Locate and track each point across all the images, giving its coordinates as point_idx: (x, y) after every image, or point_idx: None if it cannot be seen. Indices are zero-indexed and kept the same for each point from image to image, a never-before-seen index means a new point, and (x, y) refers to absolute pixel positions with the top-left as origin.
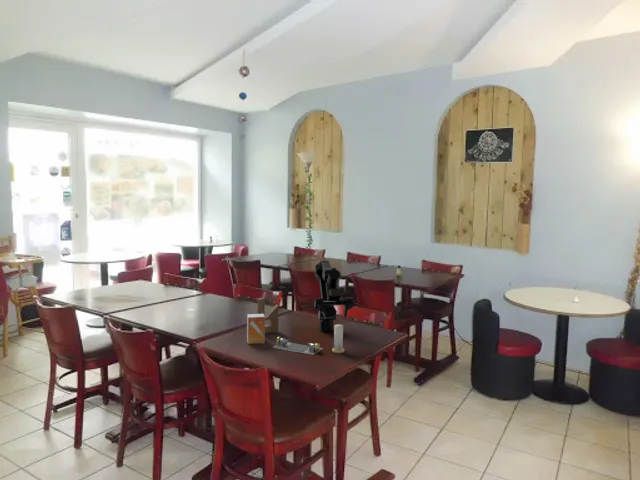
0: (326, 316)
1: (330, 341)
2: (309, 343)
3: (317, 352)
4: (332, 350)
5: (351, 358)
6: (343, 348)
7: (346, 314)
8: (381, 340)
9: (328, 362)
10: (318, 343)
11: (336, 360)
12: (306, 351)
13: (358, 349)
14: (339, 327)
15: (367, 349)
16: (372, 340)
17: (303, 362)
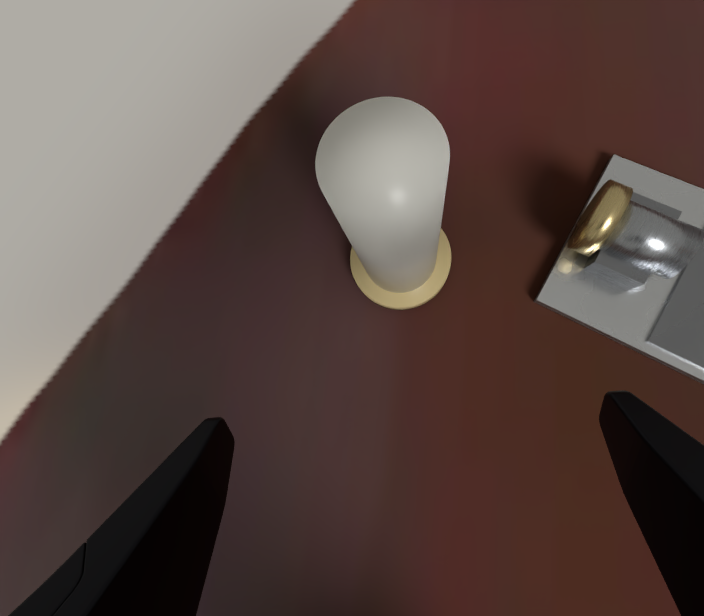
0: (632, 417)
1: (449, 532)
2: (696, 236)
3: (576, 221)
4: (448, 246)
5: (321, 116)
6: (355, 272)
7: (160, 466)
8: (26, 527)
9: (489, 28)
10: (599, 207)
11: (430, 70)
12: (684, 208)
13: (241, 305)
14: (376, 103)
15: (178, 306)
16: (90, 533)
17: (684, 6)
